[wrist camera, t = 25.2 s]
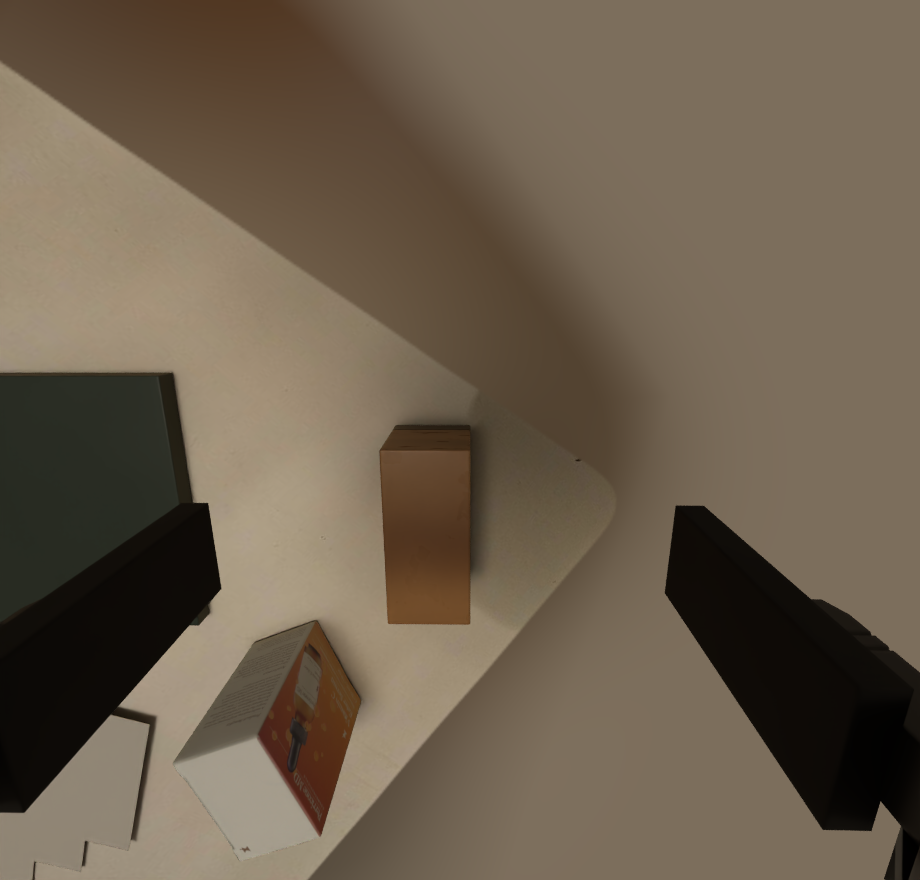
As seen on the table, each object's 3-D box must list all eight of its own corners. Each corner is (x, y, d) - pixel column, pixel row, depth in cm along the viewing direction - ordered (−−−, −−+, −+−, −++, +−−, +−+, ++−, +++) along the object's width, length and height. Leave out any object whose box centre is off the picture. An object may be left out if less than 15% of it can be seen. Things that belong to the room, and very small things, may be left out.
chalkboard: (-185, 373, 32) (-216, 375, 31) (172, 372, 32) (158, 375, 30) (-104, 610, 37) (-127, 623, 35) (209, 613, 36) (199, 626, 35)
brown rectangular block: (395, 425, 32) (379, 450, 27) (470, 424, 32) (470, 450, 26) (401, 572, 35) (387, 624, 29) (470, 573, 35) (470, 625, 29)
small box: (363, 699, 38) (324, 841, 28) (299, 721, 39) (239, 867, 29) (317, 617, 36) (257, 736, 26) (251, 640, 37) (168, 766, 27)
